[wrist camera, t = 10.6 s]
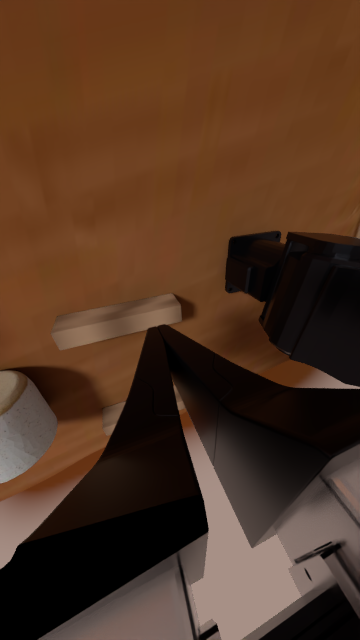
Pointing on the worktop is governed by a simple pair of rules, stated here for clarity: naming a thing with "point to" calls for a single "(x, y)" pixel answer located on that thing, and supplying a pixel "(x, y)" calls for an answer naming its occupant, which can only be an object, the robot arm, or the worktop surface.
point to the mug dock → (116, 332)
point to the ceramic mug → (22, 424)
